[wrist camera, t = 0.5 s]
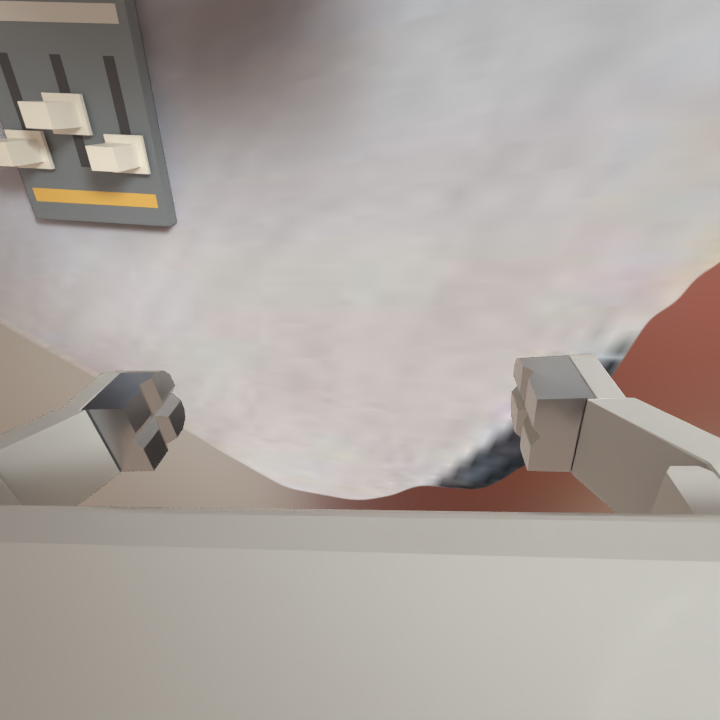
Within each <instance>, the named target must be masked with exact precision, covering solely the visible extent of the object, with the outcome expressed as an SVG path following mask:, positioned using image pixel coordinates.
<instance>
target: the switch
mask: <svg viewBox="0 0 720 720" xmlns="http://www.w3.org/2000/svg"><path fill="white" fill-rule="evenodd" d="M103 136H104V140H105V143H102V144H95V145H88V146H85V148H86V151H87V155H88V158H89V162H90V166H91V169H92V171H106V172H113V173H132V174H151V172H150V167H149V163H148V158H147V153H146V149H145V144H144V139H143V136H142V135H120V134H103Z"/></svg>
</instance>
